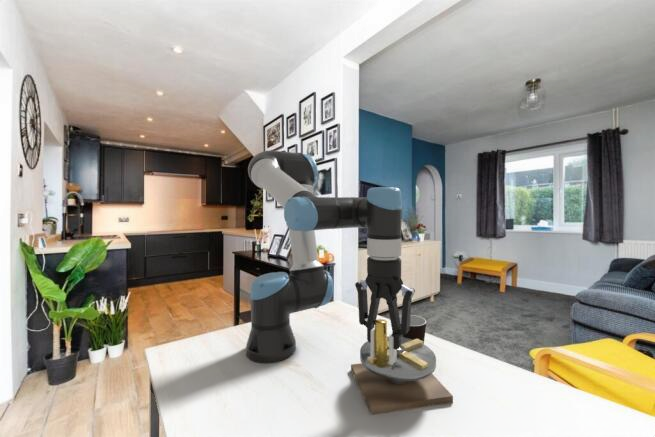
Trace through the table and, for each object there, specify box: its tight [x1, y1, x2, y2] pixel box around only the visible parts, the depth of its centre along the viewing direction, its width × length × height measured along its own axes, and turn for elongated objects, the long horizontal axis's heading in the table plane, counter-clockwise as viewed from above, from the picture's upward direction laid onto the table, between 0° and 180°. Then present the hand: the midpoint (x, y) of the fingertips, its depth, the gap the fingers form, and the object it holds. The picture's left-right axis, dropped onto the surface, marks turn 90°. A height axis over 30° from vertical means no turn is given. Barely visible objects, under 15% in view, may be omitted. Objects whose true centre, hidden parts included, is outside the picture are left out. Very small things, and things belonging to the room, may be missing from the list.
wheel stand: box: [350, 362, 454, 415], centre depth 71 cm, size 17×19×6 cm
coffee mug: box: [399, 314, 427, 345], centre depth 87 cm, size 12×9×10 cm
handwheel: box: [359, 318, 437, 381], centre depth 70 cm, size 18×18×12 cm
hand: (383, 358), depth 65 cm, fingers open, 4 cm apart
